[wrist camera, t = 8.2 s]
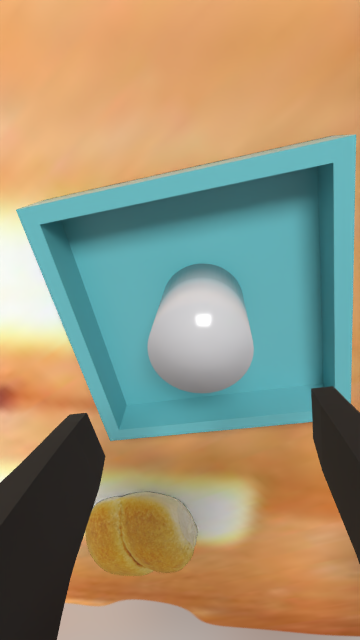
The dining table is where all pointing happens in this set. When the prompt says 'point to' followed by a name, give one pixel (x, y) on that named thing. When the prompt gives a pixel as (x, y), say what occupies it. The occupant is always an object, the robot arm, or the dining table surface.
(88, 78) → the dining table surface
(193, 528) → the bread roll
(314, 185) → the tray
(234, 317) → the white cylinder
